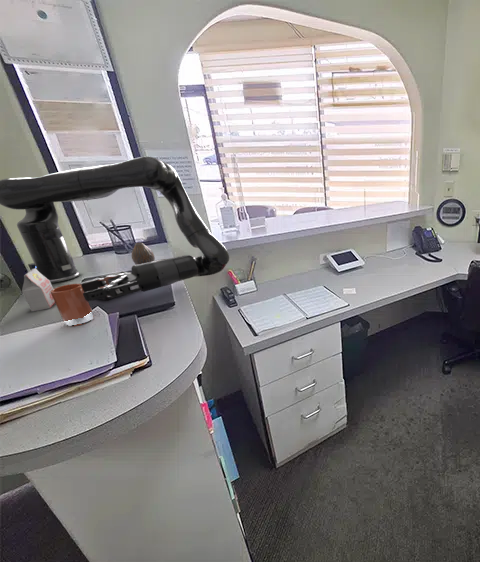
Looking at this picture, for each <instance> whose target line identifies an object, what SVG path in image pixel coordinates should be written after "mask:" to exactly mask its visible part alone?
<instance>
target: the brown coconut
mask: <svg viewBox="0 0 480 562" xmlns="http://www.w3.org/2000/svg"><path fill="white" fill-rule="evenodd" d="M130 257H131V260H132V262H133V263H134V265H138V264H142V263H147V262H152V261H156V260H155V259H156V258H155V257H156V256H155V254H154V252H153V250H152V249H151V248H149V247H148V246H147V245H145V244H144V243H143V242H137V243H134V246H133V248H132V251H131V255H130Z"/></svg>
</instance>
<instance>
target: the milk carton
mask: <svg viewBox="0 0 480 562" xmlns="http://www.w3.org/2000/svg"><path fill="white" fill-rule="evenodd" d="M52 289H54V286H53V285H52V283H51V282H50V280H48V279H47V278H46V277H45V276H43V275H42V274H41V273H40V272H39V271H38V270H37V269H36V268H35V269H32V270H30V271H27V273H24V275H23V284H22V289H21V293H22V294H23V296H24V299H25V301H26V303H27V304H28V307H29V309H30V311H31V312H37V311H41V310H47V309H51V308H52V307H53V306H54V305H55V304H56V303H55V301H54V299H53V297H52V294H51V292H50V291H51V290H52Z"/></svg>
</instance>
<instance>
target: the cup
mask: <svg viewBox="0 0 480 562" xmlns="http://www.w3.org/2000/svg"><path fill="white" fill-rule="evenodd" d="M50 292H51V294H52V297H53V299H54V301H55V303H54V304H55V306H56V307H57V310H58V312H59V314H60V317H61V318H62V320H63V322H64V321H68V320H72V319H78V318H83V317H84V316H86V315H87V314H89V313H90V312H93V310H92V307H91V305H90V301H86V300H85V298H84V295H83V293H84V290H83V288H82V285H81V284H79V283H70V284H65V285H64V284H63V285H60V286H58V287H53V289H52V290H51V291H50ZM85 324H86V323H84V324H77V325H74V326H73V327H78V326H82V325H85Z"/></svg>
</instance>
